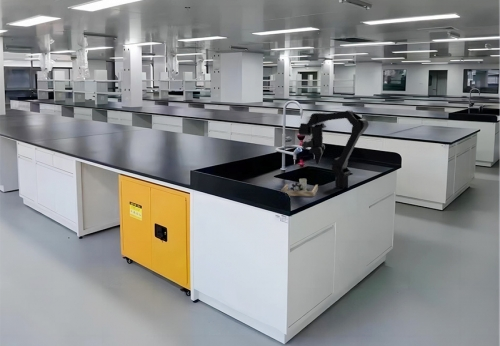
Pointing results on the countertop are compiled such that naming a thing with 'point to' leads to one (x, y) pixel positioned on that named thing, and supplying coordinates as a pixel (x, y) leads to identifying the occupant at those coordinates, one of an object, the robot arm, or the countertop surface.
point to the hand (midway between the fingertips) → (317, 163)
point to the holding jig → (299, 193)
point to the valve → (300, 185)
